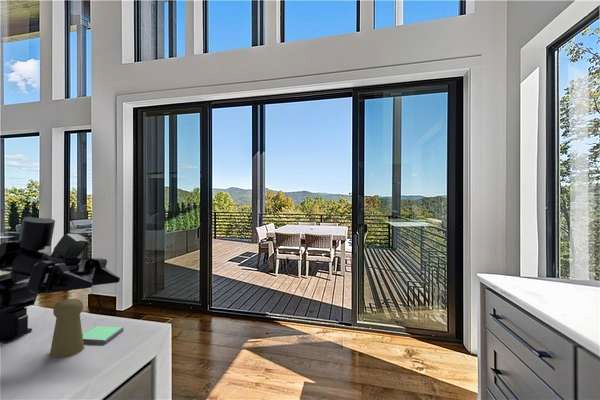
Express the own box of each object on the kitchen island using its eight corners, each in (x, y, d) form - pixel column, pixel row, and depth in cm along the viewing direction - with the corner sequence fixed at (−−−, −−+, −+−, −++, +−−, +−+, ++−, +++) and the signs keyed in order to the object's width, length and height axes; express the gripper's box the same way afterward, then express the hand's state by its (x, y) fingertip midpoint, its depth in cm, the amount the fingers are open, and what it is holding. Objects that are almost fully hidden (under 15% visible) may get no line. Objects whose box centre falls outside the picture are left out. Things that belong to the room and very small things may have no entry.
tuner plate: (74, 342, 72) (74, 338, 72) (95, 329, 79) (95, 325, 79) (105, 344, 72) (105, 340, 72) (123, 330, 79) (123, 327, 79)
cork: (66, 359, 65) (67, 306, 65) (42, 355, 66) (43, 303, 66) (90, 346, 71) (92, 297, 71) (68, 342, 72) (69, 294, 72)
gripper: (16, 229, 64) (87, 247, 62) (84, 233, 82) (140, 246, 81) (-3, 284, 62) (69, 304, 61) (70, 275, 81) (127, 290, 79)
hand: (106, 282), depth 71 cm, fingers open, 9 cm apart
